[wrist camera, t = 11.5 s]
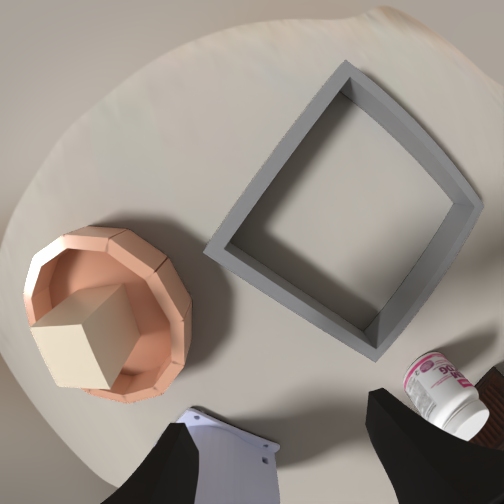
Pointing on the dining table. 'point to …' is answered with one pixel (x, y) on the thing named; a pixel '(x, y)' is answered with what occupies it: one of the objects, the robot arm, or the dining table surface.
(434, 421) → the pill bottle
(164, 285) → the bowl
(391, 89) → the dining table surface
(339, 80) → the tray
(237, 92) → the dining table surface
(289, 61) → the dining table surface
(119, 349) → the sandstone block
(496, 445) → the manual coffee grinder
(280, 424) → the dining table surface
